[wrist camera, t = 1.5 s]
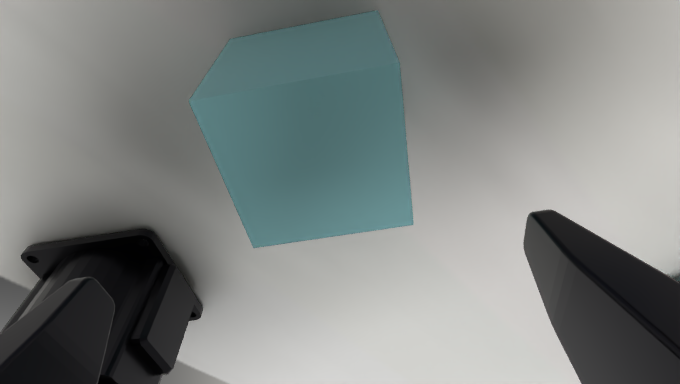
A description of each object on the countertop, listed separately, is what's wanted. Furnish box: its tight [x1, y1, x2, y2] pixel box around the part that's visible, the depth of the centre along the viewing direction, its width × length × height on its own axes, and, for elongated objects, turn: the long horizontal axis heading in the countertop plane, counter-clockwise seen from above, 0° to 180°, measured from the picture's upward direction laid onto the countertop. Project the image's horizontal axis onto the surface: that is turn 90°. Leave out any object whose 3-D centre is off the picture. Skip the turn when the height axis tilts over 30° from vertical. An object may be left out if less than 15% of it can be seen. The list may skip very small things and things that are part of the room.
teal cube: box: [189, 10, 414, 248], centre depth 13 cm, size 5×5×5 cm
